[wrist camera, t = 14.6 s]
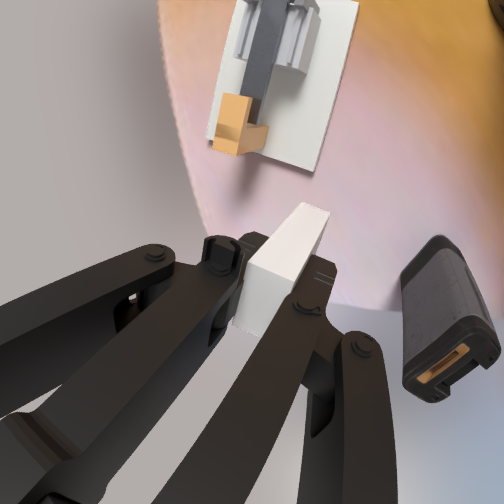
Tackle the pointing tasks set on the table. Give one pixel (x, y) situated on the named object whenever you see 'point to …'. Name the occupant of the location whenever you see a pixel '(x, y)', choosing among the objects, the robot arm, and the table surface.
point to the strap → (263, 55)
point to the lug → (237, 127)
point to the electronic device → (443, 322)
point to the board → (292, 74)
